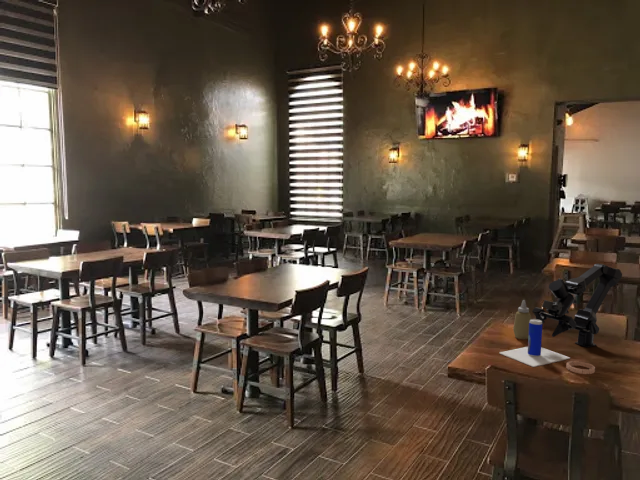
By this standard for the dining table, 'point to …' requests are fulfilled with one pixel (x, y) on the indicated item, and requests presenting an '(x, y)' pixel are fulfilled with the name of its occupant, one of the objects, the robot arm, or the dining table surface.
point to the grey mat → (525, 358)
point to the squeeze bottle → (522, 322)
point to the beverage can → (535, 337)
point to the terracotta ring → (581, 371)
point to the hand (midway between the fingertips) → (543, 333)
